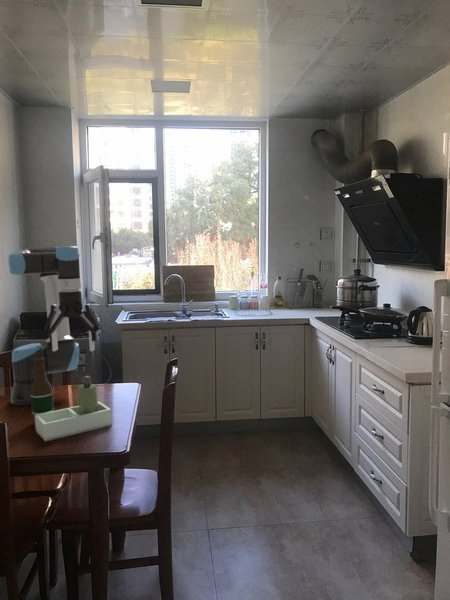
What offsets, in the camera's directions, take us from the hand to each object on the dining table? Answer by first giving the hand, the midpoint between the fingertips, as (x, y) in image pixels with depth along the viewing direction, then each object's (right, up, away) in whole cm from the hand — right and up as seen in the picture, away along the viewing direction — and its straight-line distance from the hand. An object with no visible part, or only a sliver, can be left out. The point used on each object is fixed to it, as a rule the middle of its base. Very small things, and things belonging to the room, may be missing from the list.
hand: (73, 350), depth 175 cm
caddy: (+1, -27, -2) cm, 27 cm away
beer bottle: (-12, -27, +5) cm, 30 cm away
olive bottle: (+5, -26, +1) cm, 26 cm away
